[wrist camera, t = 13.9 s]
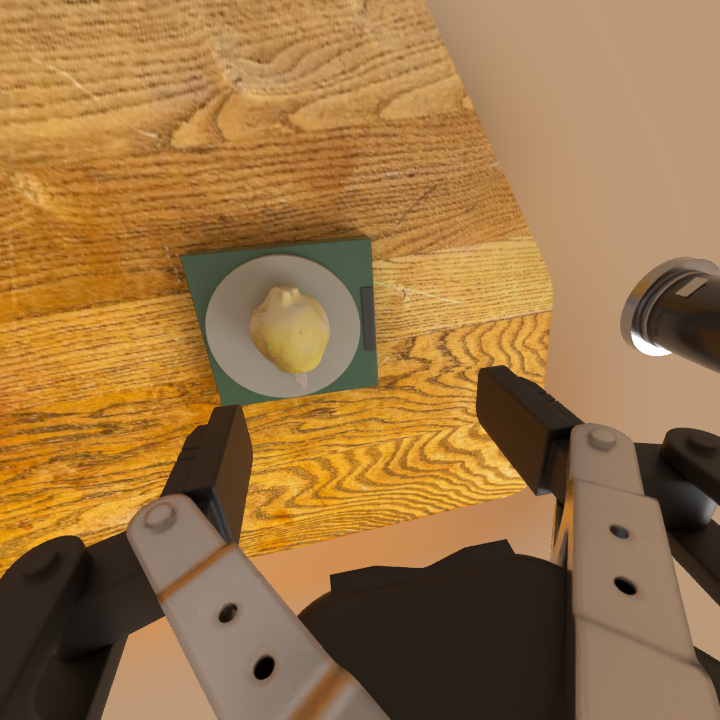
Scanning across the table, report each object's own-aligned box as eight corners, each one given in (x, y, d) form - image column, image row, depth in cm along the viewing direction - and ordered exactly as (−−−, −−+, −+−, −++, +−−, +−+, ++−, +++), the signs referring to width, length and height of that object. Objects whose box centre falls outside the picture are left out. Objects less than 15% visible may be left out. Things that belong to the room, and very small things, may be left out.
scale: (365, 235, 31) (372, 239, 28) (373, 374, 37) (380, 389, 35) (187, 251, 29) (176, 258, 27) (227, 395, 36) (221, 412, 33)
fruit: (272, 388, 33) (228, 290, 27) (330, 361, 34) (300, 263, 29) (292, 425, 28) (244, 317, 22) (357, 392, 30) (329, 283, 24)
